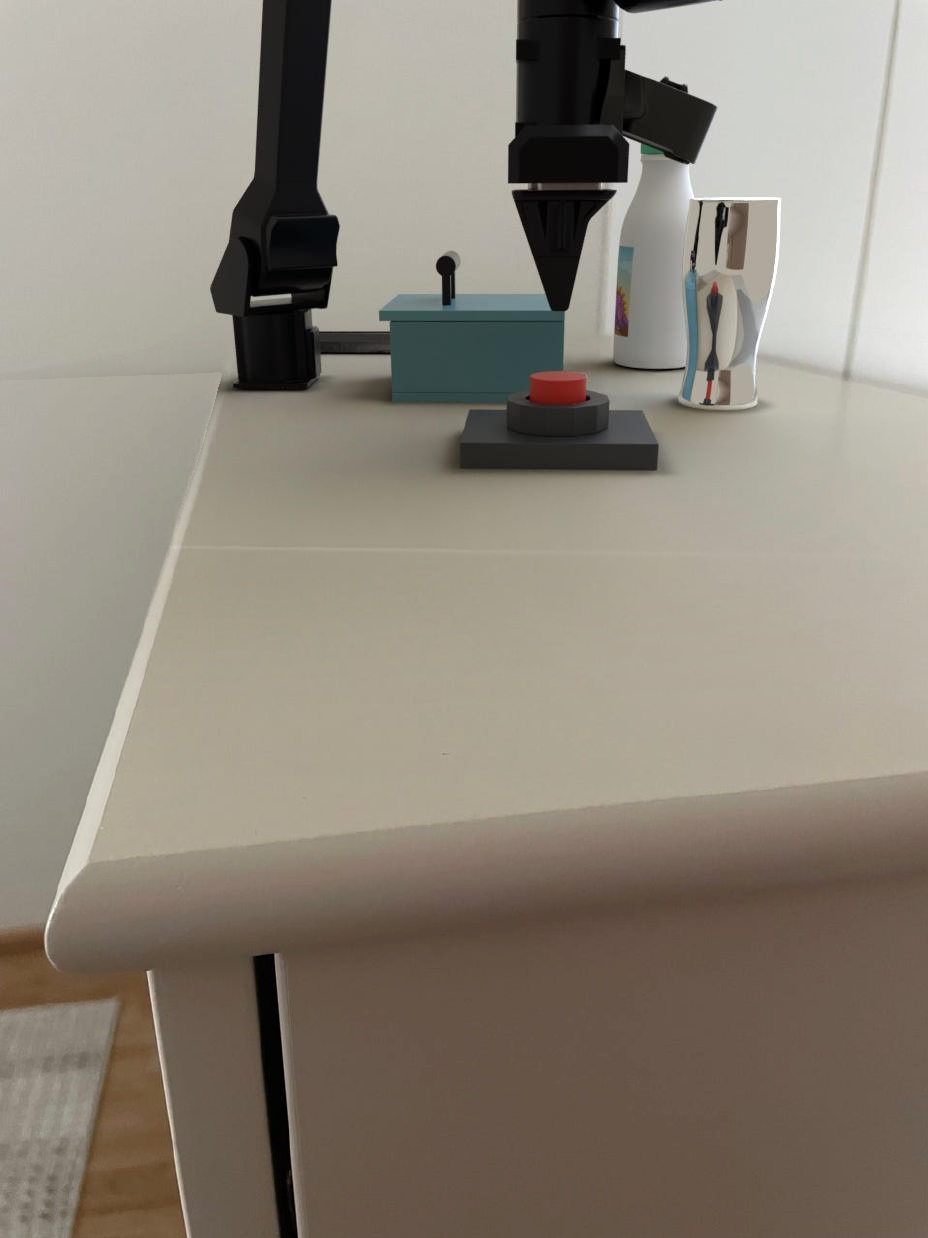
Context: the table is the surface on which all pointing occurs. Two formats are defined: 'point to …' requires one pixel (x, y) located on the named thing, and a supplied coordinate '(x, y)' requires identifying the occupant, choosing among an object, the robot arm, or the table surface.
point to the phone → (354, 341)
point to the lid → (467, 303)
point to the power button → (558, 387)
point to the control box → (558, 436)
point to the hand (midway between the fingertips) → (559, 310)
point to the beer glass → (726, 297)
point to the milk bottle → (653, 268)
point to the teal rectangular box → (471, 358)
